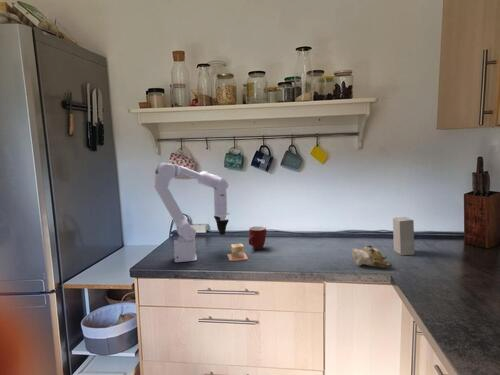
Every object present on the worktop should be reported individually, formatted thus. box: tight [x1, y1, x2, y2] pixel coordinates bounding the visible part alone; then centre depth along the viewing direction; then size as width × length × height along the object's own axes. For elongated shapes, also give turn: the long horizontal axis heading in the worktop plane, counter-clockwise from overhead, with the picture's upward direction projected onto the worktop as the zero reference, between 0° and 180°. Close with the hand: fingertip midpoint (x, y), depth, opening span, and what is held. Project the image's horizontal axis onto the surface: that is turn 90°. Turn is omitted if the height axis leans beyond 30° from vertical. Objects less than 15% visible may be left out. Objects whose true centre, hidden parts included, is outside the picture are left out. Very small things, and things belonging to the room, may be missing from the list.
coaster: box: [227, 252, 249, 262], centre depth 160 cm, size 8×8×1 cm
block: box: [230, 243, 245, 258], centre depth 160 cm, size 5×5×5 cm
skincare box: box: [392, 216, 415, 256], centre depth 162 cm, size 8×7×16 cm
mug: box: [248, 226, 267, 251], centre depth 171 cm, size 10×8×10 cm
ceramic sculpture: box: [352, 245, 393, 268], centre depth 147 cm, size 11×9×15 cm
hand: (221, 232), depth 166 cm, fingers open, 7 cm apart
